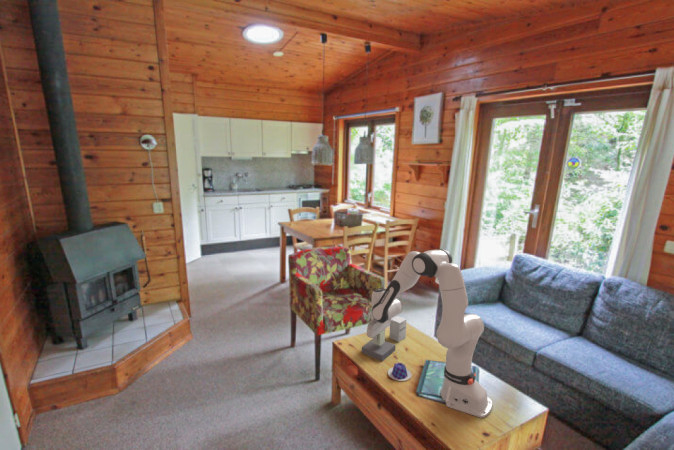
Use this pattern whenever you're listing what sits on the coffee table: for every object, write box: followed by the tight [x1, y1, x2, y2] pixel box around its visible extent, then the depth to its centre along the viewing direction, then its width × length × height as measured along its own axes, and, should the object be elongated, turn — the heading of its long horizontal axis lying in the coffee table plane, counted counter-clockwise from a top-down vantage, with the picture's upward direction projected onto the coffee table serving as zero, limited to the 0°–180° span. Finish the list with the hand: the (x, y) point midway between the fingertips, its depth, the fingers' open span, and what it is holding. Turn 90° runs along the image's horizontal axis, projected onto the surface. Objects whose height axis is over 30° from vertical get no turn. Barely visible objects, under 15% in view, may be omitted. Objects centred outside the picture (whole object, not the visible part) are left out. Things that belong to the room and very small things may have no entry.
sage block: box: [372, 330, 386, 346], centre depth 197 cm, size 5×5×7 cm
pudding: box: [387, 362, 412, 382], centre depth 178 cm, size 12×12×5 cm
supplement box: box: [389, 315, 407, 343], centre depth 212 cm, size 7×7×13 cm
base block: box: [361, 338, 396, 362], centre depth 199 cm, size 14×14×4 cm
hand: (378, 338), depth 198 cm, fingers closed on sage block, 5 cm apart
